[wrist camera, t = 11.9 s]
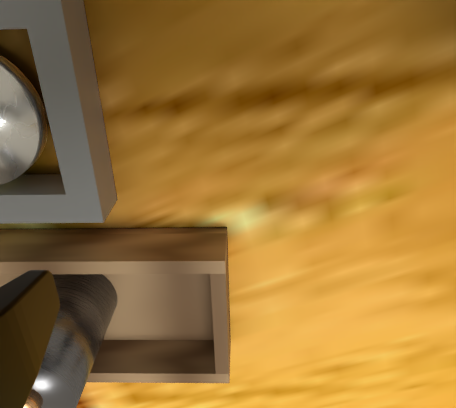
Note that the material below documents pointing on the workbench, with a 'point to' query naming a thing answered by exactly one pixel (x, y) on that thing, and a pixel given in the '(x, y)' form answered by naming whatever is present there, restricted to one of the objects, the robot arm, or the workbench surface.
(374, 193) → the workbench surface
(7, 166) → the silver metal disc
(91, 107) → the checker frame
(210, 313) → the trough
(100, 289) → the cell
